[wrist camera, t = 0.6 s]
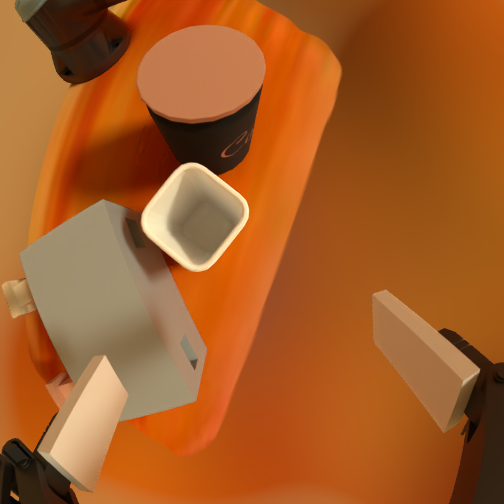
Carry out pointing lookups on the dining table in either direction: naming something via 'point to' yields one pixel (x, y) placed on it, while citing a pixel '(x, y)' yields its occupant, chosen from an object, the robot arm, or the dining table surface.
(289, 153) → the dining table surface
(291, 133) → the dining table surface
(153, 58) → the coffee jar
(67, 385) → the terracotta plunger
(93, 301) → the wall block
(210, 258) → the cup
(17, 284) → the pale plunger
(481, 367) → the robot arm
